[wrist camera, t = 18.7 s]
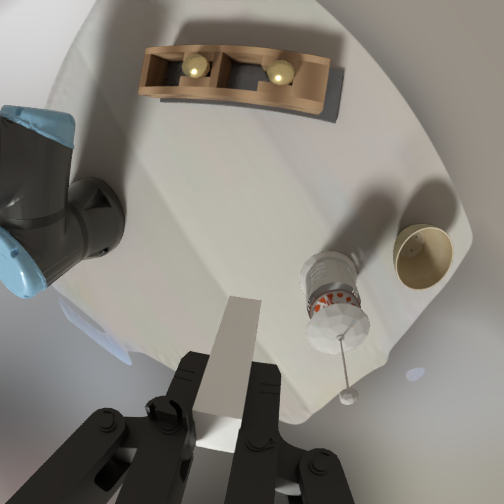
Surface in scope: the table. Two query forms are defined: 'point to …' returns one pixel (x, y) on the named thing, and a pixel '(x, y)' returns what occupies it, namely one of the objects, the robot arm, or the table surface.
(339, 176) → the table surface
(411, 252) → the flower pot
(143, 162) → the table surface
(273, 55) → the wooden compartment box
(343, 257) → the french press
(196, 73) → the rail
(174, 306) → the table surface
